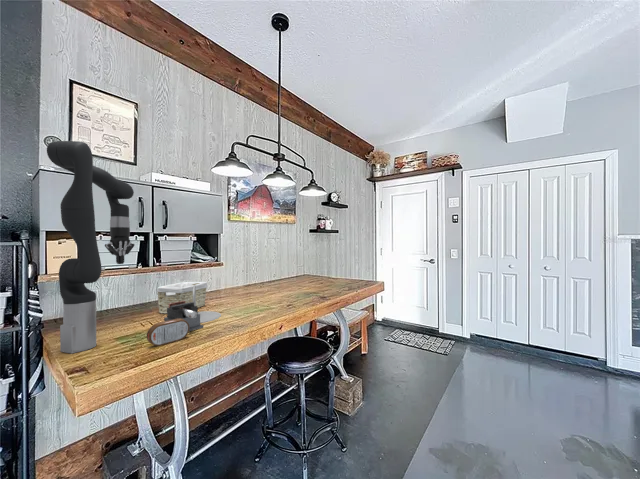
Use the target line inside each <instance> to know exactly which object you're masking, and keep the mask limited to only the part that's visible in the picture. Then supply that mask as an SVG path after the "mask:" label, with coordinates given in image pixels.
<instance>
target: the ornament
mask: <svg viewBox="0 0 640 479" xmlns="http://www.w3.org/2000/svg"><path fill="white" fill-rule="evenodd" d="M193 302H194V305H195V306H196V287H195V285H193ZM198 314H200V324H203V323H208V322H211V321H216V320H217V319H219V317H220V318H221V317H222V314H221V313H220V312H217V311H212V310H211V311H210V310H209V311H208V310H207V311H205V310H203V311H198ZM215 319H216V320H215Z"/></svg>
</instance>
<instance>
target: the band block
mask: <svg viewBox="0 0 640 479" xmlns="http://www.w3.org/2000/svg"><path fill="white" fill-rule="evenodd" d="M181 308H185V309H188V310H192V311H195V312H197V316H196V318H194V319H192V318H189V317H186V316H183V309H181ZM198 312H199V311H198V308H197V306H195V305H194V302H189V303H184V304H179V305H173V306H170V307H169V308H167V313H166V316H165V317H164V318H163V320H164V321H169V320H174V319H179V318H181V319H184V320H185V321H187V322H188V324H189V332H192V331H196V330H199V329H203V328H204V325H203V324H202V323H200V314H198ZM164 321H163V322H164Z"/></svg>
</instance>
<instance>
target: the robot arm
mask: <svg viewBox="0 0 640 479" xmlns="http://www.w3.org/2000/svg"><path fill="white" fill-rule="evenodd" d="M46 154H47V157H48V158H49V160H50V161H51V163H53V164H54V165H55V166H57V167H59V168H61V169H63V170H66V171H68V172H70V173H73V181H72V184H71V185H70V187H69V189H68V190H67V192H66V193H65V195H64V196H63V198H62V200H61V203H60V217H61V223H62V225H63V227H64V229H65V231H67V233H68V235H69V236H70V237H71V239H72V240H73V241H74V242H75V245H76V247H77V251H78V258H77V257H76V258H73V257H72V258H68V259H66V260H64V261H63V262H62V263H61V264H60V266H59V270H58V281H59V282H58V283H59V284H58V285H59V295H60V297H61V299H62V303H63V305H62V307H63V308H62V309H63V310H62V312H63V313H62V316H63V317H62V319H63V321H62V322H63V323H62V324H60V326H59V327H60V328H59V336H60V339H59V340H60V341H59V342H60V345H59V347H60V349H59V350H60V353H67V354H75V353H79V352H80V353H81V352H83V351H89V350H90V349H92V348H95V347H96V346H97V294H96V292H95V291H92V290H90V289H89V288H87V286H86V285H85V284H92V283H93V284H94V283H96V282H97V281H98V280H99V279H100V277H101V275H102V263H101V262H102V261H101V257H100V256H101V255H100V252H99V247H98V239H97V232H96V218H95V204H94V194H93V184H94V185H95V186H97V187H98V188H100V189H101V190H103V191H104V192H105V195H106V198H107V201H108V205H109V208H110V217H109V218H110V220H109V237H110V239H109V242H108V243H105V244H104V247H105V248H106V249H107V251H108V252H109V253H110V254H111V255H113V256H115V262H116V264H117V265H124V263H125V256H126V255H129V254H130V253H131V251H132V249H133V248H134V247H135V243H132V241H131V240H130V236H131V224H130V223H131V221H130V207H129V205H127V204H124V203H121V202H120V201H119V200H130V199H131V198H133V196H134V193H135V192H134V189H133V187H132V186H131V185H130V184H129V183H127V182H125V181H123V180H121V179H119V178H116V177H115V176H113V175H112V174H111V173H110V172H109V171H107V170H105V169H103V168H101V167H97V166H95V165H94V164H93V163H94V160H93V152H92V150H91V147H90V146H89V145H88V144H87V143H86V142H84V141H81V140H79V141H78V140H77V141H76V140H55V141H52V142H51V141H50V143H48V145H47V146H46Z"/></svg>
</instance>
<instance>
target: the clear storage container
mask: <svg viewBox="0 0 640 479" xmlns="http://www.w3.org/2000/svg"><path fill="white" fill-rule="evenodd" d="M193 285H195V287H196V306H197V309H198V308H201V307H204V306H205V305H206V295H207V289H208V282H207V281H182V282H176V283H171V284H170V283H169V284H165V285H161V286H158V287H157V289H156V292H157V293H156V294H157V301H158V302H157V303H158V313H160V314H167V308H169V303H174V302H180V301H186V303H189V302H193Z"/></svg>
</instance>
